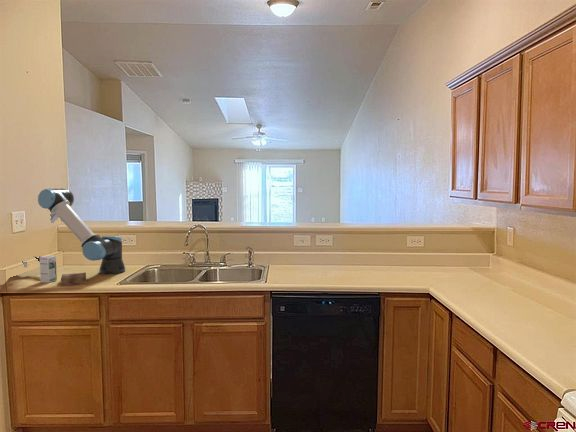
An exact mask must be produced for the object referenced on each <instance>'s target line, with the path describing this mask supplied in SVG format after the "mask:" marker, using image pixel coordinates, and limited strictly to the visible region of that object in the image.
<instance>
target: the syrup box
mask: <svg viewBox="0 0 576 432" xmlns="http://www.w3.org/2000/svg"><path fill="white" fill-rule="evenodd" d="M39 274H40V276H39V277H40V283H51V282H52V283H53V282H55V281H58V279H57V278H58V277H57V276H58V275H57V256H56V255H45V256H40V262H39Z"/></svg>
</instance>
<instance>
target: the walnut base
mask: <svg viewBox="0 0 576 432" xmlns="http://www.w3.org/2000/svg"><path fill="white" fill-rule="evenodd" d="M77 285H78V286H79V285H87V272H77V273H75V272H74V273H63V274H61V278H60V286H61V287H65V286H66V287H67V286H77Z"/></svg>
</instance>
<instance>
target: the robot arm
mask: <svg viewBox="0 0 576 432" xmlns="http://www.w3.org/2000/svg"><path fill="white" fill-rule="evenodd" d="M74 201H75V197H74V194H73V193H72V191H70V190H69V189H67V188H51V187H50V188H44V189H42V190H41V191H40V192H39V194H38V196H37V202H38V205H39V206H40V207H41V208H42V209H46V210H50V212H51V214H50V216H51V219H50V220H51V223H53V224H54V223H55V222H56V221H57V220H58V218H59V219H60V220H61V221H62V222H63V223H64V225H65V226H66V227H67V228H68V229H69V231H71V232H72V234H73V235H74V236H75V237H76V239H77V240H79V242H81V243H80V244H81V245H80V247H81V249H82V254H83V256H84V258H86V259H87V260H89V261H101V263H100V265H99V269H98V271H99V274H101V275H115V274H122V273H124V272H126V265H125V263H124V260H123V239H122V236H120V235H119V236H118V235H117V236H115V235H114V236H113V235H102V236H100V235H99V234H98V233H95V232H94V231H92V229H91V228H90V227H89V226H88V225H87V224H86V222H84V221H83V219H82V218H81V217H80V216H79V215H78V213H76V212H75V210H74V209H73V208H72V206H73V204H74ZM34 257H35V258H36V259H38V261H39V262H38V263H40V257H41V256H40V255H39V258H37V257H36V256H34ZM22 263H23V264H24V267H23V268H28V265H27V262H23V261H22Z"/></svg>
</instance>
